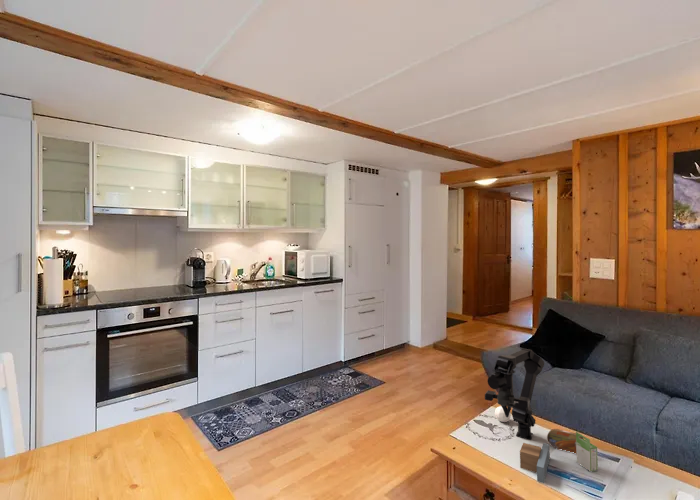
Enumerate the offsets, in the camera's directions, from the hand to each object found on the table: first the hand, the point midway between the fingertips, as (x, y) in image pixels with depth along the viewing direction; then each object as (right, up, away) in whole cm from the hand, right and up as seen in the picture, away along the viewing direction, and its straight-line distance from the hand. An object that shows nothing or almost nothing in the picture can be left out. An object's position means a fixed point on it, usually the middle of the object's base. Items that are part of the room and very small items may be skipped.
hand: (507, 417), depth 169 cm
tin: (+24, -13, -6) cm, 28 cm away
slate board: (+7, -13, -19) cm, 24 cm away
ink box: (+25, -13, -18) cm, 34 cm away
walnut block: (+3, -13, -16) cm, 21 cm away
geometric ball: (+8, -13, +23) cm, 27 cm away
